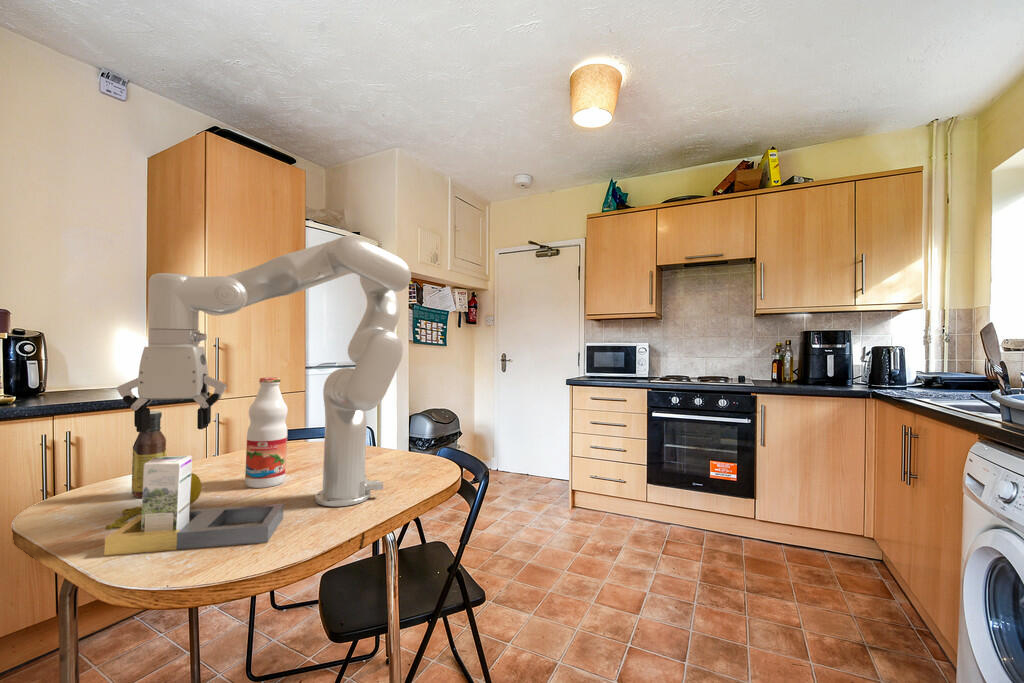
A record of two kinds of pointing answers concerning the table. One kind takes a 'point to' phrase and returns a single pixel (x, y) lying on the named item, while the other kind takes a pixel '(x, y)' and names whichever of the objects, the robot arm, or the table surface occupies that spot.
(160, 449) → the sauce bottle
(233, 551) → the table surface
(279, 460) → the fruit juice
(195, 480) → the lemon
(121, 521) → the key
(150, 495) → the syrup box
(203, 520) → the tray
